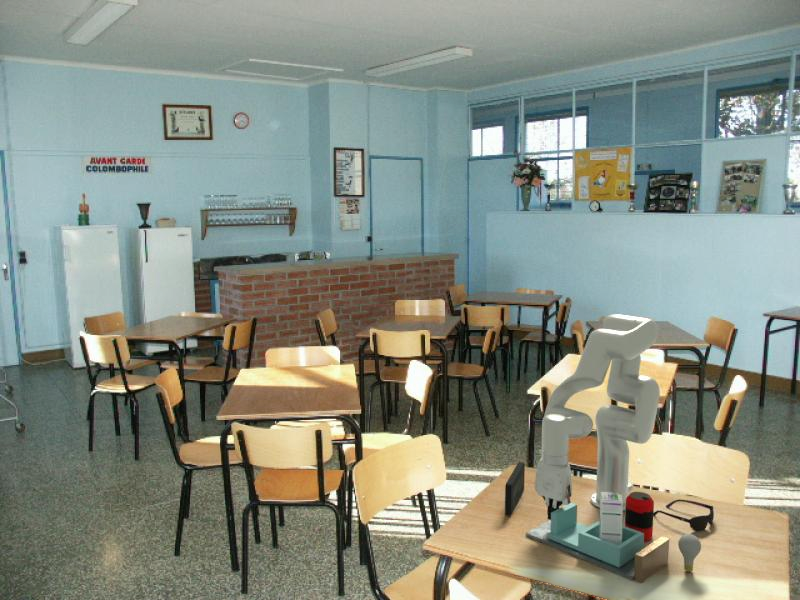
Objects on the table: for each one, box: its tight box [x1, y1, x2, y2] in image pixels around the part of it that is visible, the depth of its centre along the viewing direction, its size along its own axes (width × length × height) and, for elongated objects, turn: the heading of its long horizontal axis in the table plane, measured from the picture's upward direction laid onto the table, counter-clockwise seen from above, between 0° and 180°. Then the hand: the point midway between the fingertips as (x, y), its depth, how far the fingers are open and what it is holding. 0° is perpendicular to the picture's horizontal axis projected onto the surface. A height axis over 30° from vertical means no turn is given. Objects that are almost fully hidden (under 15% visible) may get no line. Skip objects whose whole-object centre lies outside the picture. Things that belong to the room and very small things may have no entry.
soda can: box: [624, 491, 655, 542], centre depth 206 cm, size 8×8×12 cm
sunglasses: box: [653, 499, 715, 533], centre depth 217 cm, size 14×16×5 cm
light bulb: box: [678, 533, 702, 573], centre depth 186 cm, size 6×5×10 cm
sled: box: [548, 501, 645, 567], centre depth 198 cm, size 12×22×7 cm, turn 43°
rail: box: [525, 520, 670, 584], centre depth 199 cm, size 15×36×7 cm, turn 43°
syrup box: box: [599, 492, 624, 545], centre depth 194 cm, size 6×6×14 cm
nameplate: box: [504, 461, 526, 516], centre depth 229 cm, size 21×2×10 cm, turn 159°
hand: (553, 518), depth 209 cm, fingers closed
